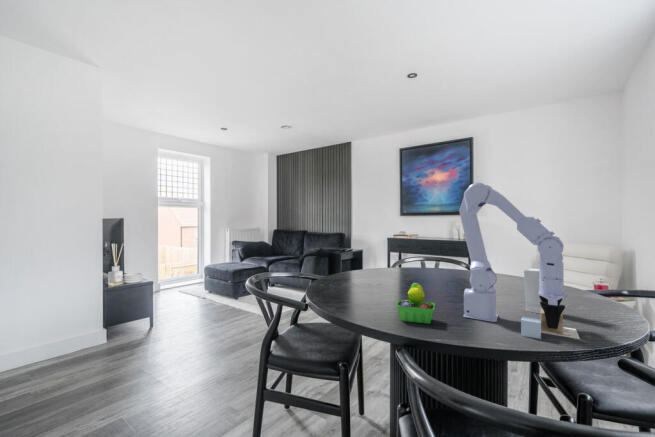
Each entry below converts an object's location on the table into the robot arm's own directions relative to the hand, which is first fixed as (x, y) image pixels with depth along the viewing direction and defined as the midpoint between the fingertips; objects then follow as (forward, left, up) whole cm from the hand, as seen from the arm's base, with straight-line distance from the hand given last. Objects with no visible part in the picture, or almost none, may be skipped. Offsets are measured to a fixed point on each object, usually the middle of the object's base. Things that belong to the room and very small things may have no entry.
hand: (551, 324), depth 89 cm
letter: (0, 0, -2) cm, 2 cm away
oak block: (0, 0, -2) cm, 2 cm away
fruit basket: (-36, -12, -2) cm, 38 cm away
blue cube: (-5, -8, -2) cm, 10 cm away
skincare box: (-2, +19, -2) cm, 19 cm away
